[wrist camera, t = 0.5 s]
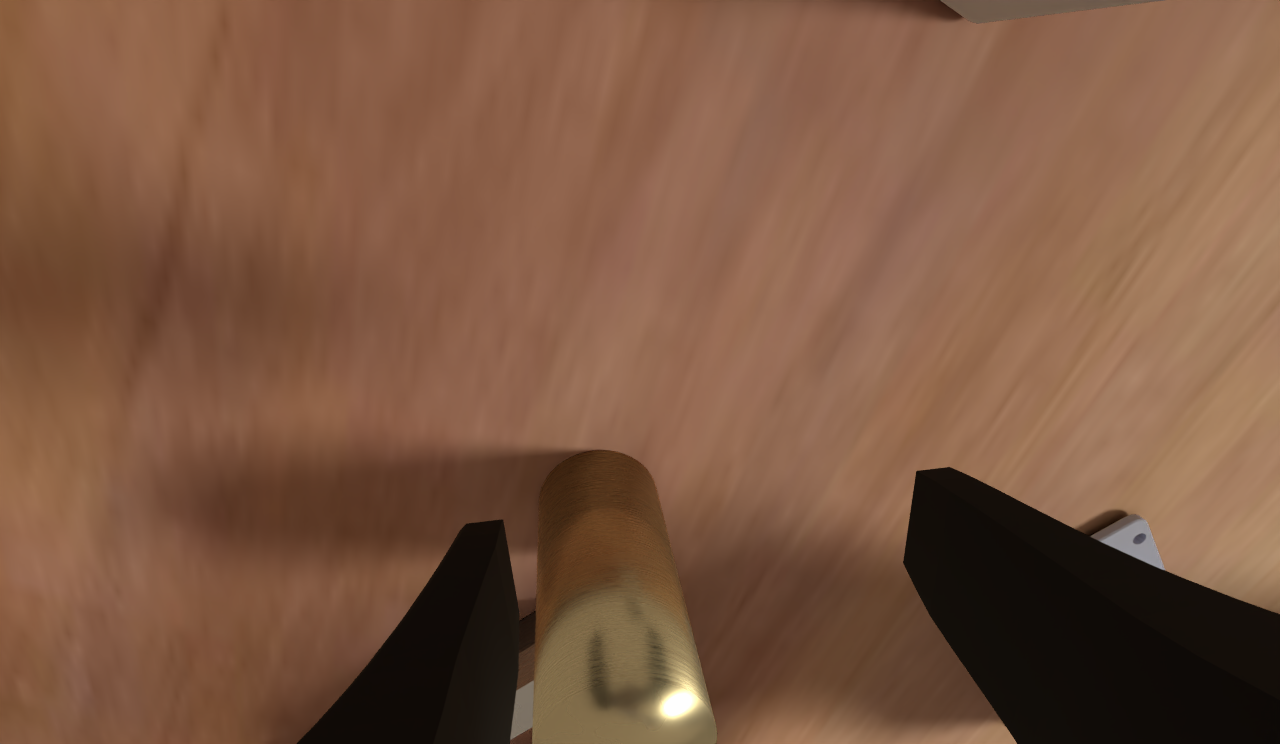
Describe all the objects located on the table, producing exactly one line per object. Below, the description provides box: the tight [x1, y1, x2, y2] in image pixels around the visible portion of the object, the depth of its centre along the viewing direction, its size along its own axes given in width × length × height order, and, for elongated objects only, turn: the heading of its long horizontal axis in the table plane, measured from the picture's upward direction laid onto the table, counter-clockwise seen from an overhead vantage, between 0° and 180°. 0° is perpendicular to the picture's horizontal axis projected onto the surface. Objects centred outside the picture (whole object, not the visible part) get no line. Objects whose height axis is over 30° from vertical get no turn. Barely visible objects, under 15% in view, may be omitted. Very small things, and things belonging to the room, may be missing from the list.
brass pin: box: [532, 450, 717, 744], centre depth 18 cm, size 4×4×9 cm
